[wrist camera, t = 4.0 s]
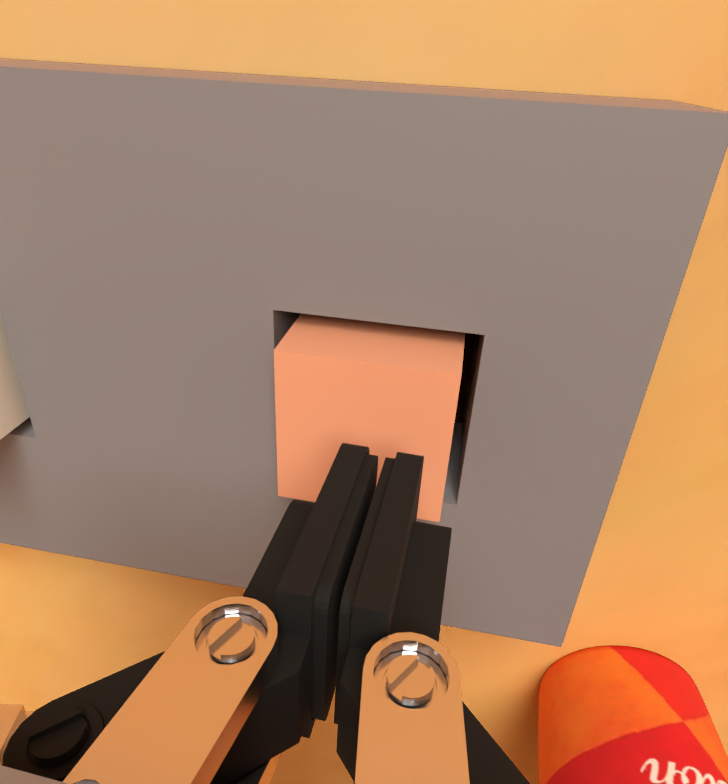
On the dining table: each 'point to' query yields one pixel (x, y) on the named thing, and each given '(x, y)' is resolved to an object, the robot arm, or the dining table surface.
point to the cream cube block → (9, 388)
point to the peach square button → (365, 400)
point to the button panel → (332, 303)
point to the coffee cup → (625, 722)
